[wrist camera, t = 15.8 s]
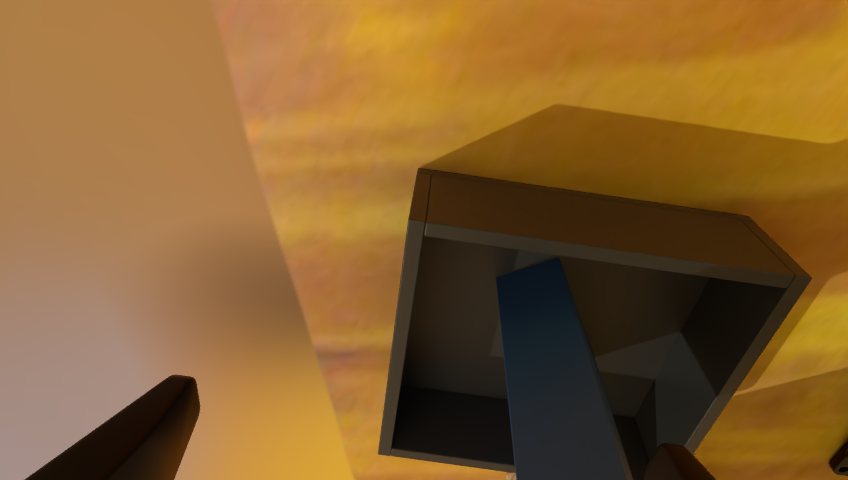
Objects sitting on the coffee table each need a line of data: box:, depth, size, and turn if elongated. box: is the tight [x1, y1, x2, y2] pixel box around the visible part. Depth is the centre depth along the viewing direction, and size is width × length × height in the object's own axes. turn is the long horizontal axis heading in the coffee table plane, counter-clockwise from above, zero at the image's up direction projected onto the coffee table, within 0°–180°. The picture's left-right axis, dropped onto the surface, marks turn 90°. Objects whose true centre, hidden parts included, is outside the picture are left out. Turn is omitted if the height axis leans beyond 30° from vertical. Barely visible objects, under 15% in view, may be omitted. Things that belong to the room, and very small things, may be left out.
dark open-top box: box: [378, 168, 812, 480], centre depth 22 cm, size 14×13×4 cm
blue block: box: [496, 258, 633, 480], centre depth 19 cm, size 3×6×12 cm, turn 24°
